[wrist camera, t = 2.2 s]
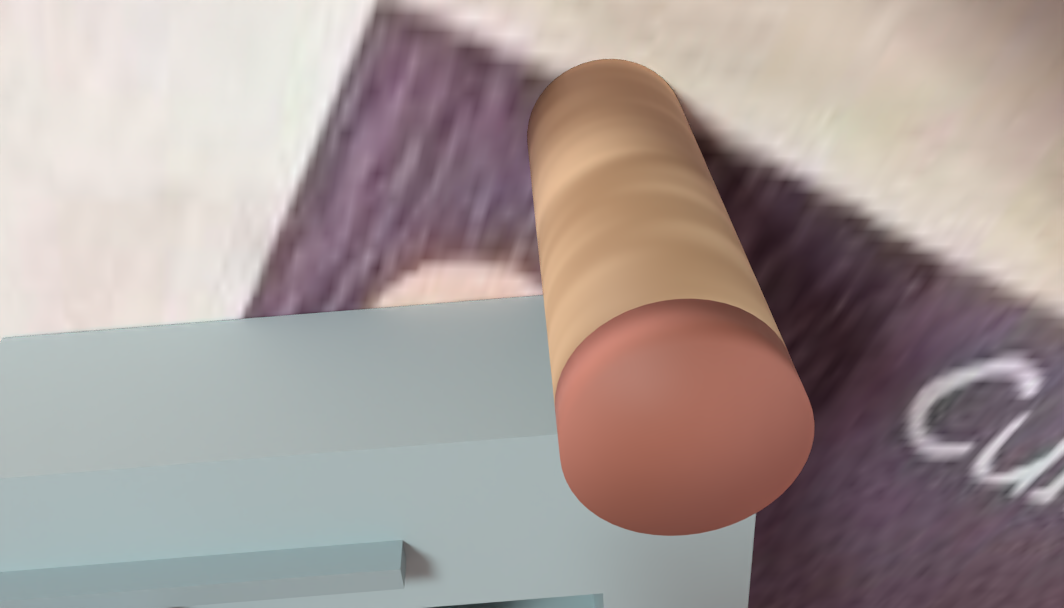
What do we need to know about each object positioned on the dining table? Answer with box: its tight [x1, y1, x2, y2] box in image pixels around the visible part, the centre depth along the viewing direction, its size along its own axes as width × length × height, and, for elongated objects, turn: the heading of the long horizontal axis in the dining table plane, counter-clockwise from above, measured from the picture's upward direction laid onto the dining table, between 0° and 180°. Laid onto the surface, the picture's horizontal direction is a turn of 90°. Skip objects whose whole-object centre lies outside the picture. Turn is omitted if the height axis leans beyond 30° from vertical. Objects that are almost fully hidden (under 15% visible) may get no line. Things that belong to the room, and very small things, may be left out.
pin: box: [527, 59, 814, 536], centre depth 17 cm, size 3×3×10 cm
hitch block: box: [0, 295, 756, 608], centre depth 25 cm, size 17×14×6 cm
